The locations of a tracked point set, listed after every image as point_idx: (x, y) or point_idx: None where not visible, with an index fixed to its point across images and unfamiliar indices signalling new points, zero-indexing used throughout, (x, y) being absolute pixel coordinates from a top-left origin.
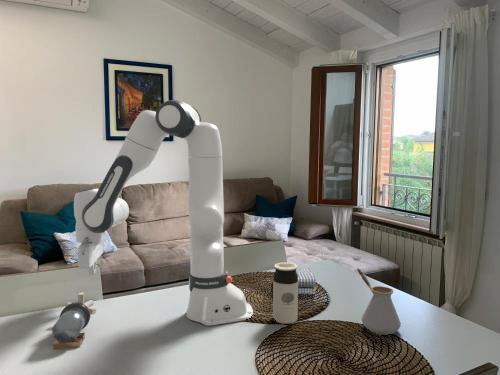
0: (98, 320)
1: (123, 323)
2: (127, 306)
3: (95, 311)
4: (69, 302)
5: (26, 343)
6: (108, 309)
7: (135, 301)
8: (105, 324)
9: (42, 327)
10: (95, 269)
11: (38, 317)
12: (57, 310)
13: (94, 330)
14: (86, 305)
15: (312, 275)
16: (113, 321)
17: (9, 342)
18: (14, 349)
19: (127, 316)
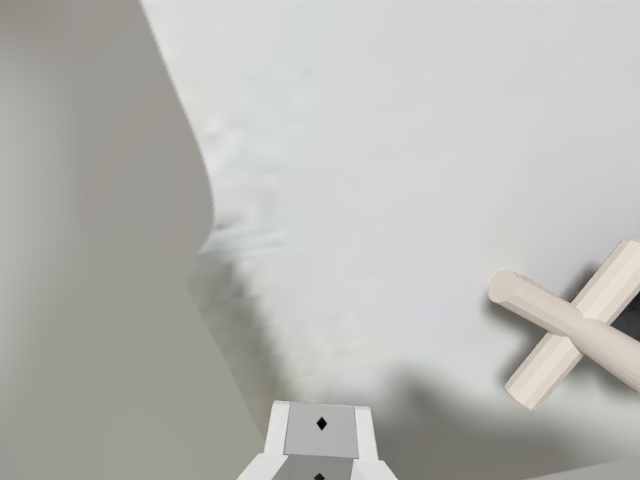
0: (510, 213)
1: (616, 68)
2: (361, 68)
3: (630, 241)
4: (527, 401)
5: (606, 420)
6: (378, 181)
7: (285, 15)
8: (578, 171)
9: (488, 405)
10: (292, 434)
11: (385, 435)
12: (330, 393)
13: (624, 214)
14: (567, 306)
15: None
16: (559, 132)
17: (569, 461)
18: (633, 438)
19: (523, 52)
